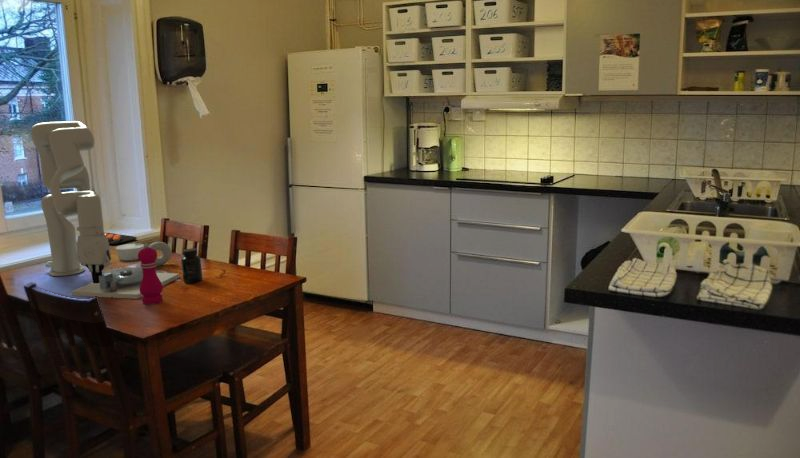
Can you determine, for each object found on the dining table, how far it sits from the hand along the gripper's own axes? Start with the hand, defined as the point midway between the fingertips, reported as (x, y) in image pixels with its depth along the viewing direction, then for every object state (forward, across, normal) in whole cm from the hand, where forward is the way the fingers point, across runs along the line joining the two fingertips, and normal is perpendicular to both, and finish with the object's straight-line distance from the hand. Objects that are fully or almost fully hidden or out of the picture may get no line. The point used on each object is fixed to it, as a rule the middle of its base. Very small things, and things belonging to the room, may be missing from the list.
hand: (97, 282), depth 229 cm
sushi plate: (+9, -53, +75) cm, 93 cm away
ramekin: (+7, -18, +50) cm, 54 cm away
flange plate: (+2, +4, +9) cm, 10 cm away
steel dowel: (+3, +6, 0) cm, 6 cm away
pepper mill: (+4, +23, -6) cm, 24 cm away
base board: (+5, +4, +10) cm, 12 cm away
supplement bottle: (+5, +26, +18) cm, 32 cm away
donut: (+6, +1, +39) cm, 39 cm away
